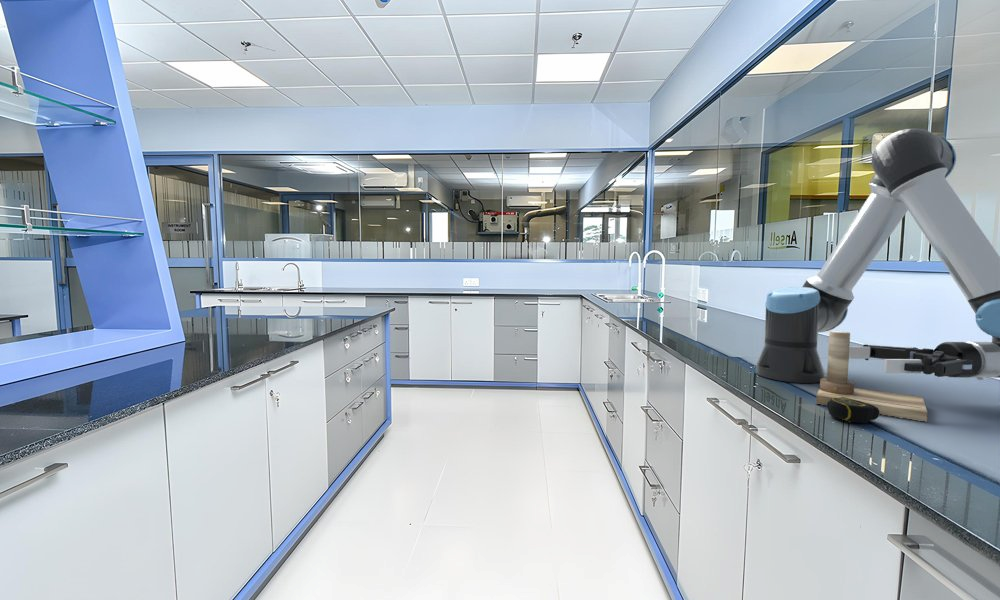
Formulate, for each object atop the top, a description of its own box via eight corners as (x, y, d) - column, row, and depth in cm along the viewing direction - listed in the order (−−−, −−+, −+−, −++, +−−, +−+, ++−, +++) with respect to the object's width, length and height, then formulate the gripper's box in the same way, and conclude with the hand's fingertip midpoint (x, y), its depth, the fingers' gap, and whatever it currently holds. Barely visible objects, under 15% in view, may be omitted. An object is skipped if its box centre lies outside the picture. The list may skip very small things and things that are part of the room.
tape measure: (881, 424, 82) (882, 404, 82) (855, 428, 80) (856, 408, 80) (843, 412, 89) (844, 394, 89) (818, 416, 87) (819, 397, 87)
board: (821, 391, 103) (821, 383, 103) (921, 406, 92) (922, 397, 92) (816, 404, 94) (816, 395, 93) (926, 422, 83) (927, 412, 82)
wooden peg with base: (821, 385, 101) (823, 329, 100) (854, 389, 97) (857, 331, 96) (818, 392, 96) (821, 333, 95) (853, 397, 92) (856, 336, 91)
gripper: (1030, 394, 81) (907, 392, 83) (915, 363, 106) (822, 362, 108) (1034, 354, 80) (909, 353, 82) (917, 332, 105) (823, 332, 107)
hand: (859, 358), depth 95 cm, fingers open, 13 cm apart
